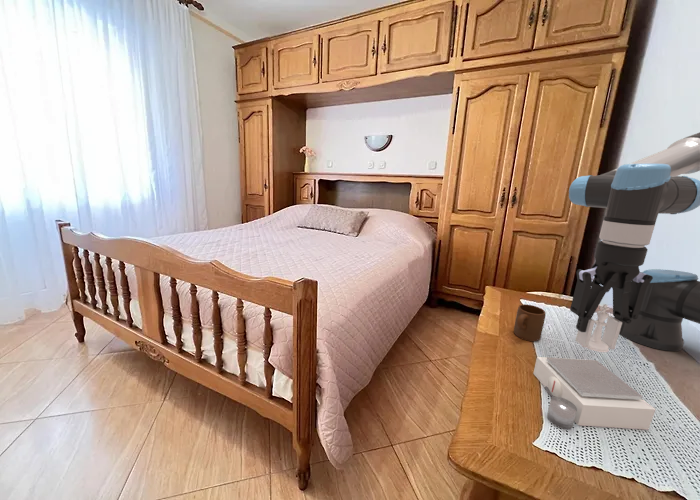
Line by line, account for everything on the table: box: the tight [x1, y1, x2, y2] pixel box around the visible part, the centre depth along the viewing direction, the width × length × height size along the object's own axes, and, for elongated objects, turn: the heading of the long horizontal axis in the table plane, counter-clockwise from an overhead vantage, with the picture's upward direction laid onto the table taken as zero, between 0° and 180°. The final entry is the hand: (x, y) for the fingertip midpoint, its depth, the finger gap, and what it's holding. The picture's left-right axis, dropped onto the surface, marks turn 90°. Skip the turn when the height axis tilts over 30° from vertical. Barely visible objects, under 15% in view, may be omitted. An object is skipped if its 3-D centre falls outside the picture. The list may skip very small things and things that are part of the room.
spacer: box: [546, 397, 577, 430], centre depth 59 cm, size 4×4×4 cm
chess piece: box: [587, 303, 611, 353], centre depth 62 cm, size 5×5×10 cm
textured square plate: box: [546, 357, 644, 400], centre depth 65 cm, size 12×12×1 cm
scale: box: [533, 356, 656, 431], centre depth 66 cm, size 14×16×5 cm
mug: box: [513, 303, 547, 342], centre depth 90 cm, size 12×8×9 cm, turn 126°
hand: (594, 344), depth 64 cm, fingers closed on chess piece, 5 cm apart
